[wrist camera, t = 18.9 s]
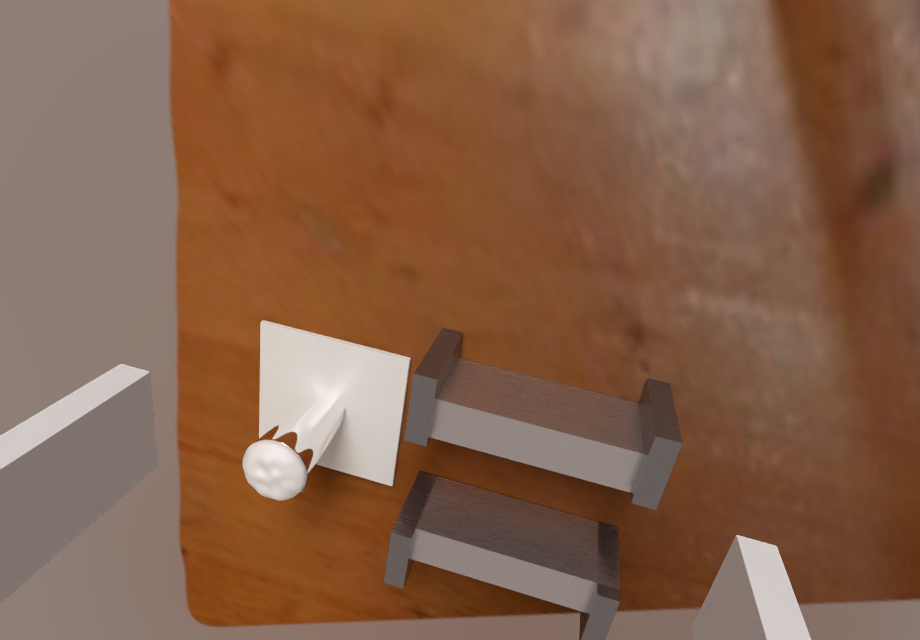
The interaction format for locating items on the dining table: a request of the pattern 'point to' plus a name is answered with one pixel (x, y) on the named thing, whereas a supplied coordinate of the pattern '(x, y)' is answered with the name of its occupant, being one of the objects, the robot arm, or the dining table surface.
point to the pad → (350, 379)
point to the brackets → (538, 444)
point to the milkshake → (293, 447)
